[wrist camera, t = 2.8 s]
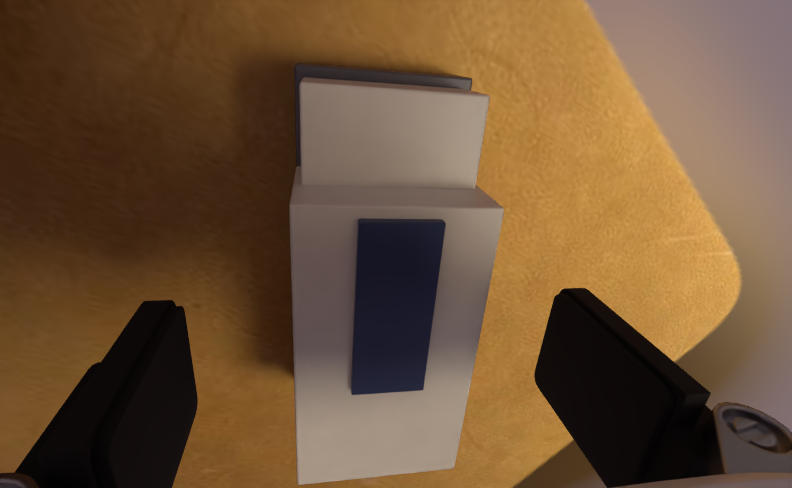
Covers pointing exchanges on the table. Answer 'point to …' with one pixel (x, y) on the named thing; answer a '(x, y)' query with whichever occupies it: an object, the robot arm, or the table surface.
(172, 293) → the table surface
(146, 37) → the table surface
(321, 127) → the white box
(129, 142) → the table surface
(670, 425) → the robot arm
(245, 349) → the table surface
